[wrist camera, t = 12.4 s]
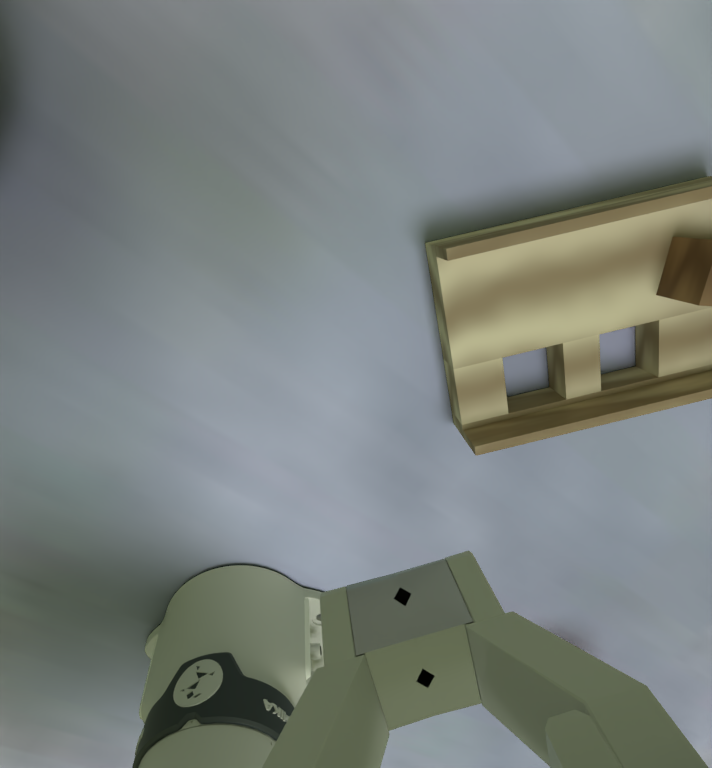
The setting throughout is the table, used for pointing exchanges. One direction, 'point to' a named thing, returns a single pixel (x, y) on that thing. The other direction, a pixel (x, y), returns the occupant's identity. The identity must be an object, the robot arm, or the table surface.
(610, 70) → the table surface
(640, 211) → the trap track
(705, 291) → the walnut block
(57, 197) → the table surface
